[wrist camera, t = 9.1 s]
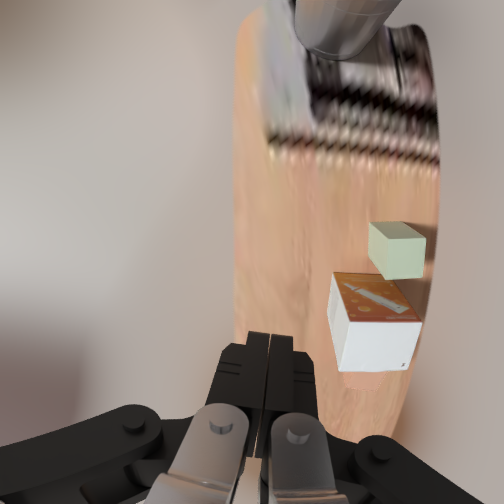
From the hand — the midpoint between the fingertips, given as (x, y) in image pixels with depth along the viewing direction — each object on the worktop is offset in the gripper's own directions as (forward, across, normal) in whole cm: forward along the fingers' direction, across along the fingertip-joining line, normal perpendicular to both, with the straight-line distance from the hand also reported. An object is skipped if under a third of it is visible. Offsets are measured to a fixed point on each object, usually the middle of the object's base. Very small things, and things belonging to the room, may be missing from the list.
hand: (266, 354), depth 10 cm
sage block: (+29, -14, +2) cm, 32 cm away
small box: (+29, -12, +10) cm, 33 cm away
